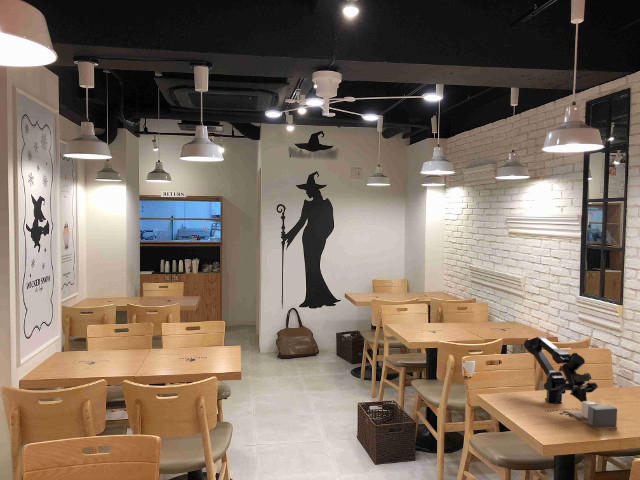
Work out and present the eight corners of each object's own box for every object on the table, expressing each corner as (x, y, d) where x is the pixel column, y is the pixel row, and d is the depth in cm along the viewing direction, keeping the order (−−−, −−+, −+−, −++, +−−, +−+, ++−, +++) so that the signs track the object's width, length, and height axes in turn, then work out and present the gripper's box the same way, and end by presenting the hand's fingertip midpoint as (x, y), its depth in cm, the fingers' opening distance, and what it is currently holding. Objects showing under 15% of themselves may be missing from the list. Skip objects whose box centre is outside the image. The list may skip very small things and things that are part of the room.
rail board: (567, 413, 250) (567, 411, 250) (584, 412, 253) (584, 410, 253) (598, 430, 230) (598, 428, 230) (617, 429, 233) (617, 426, 233)
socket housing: (587, 422, 236) (588, 405, 236) (608, 421, 238) (608, 404, 238) (595, 427, 231) (596, 409, 231) (616, 425, 234) (617, 408, 233)
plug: (581, 415, 244) (582, 401, 244) (590, 415, 245) (591, 400, 245) (591, 420, 238) (591, 405, 238) (600, 420, 239) (601, 405, 239)
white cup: (475, 375, 312) (476, 359, 311) (473, 378, 305) (474, 362, 304) (462, 373, 315) (463, 357, 315) (460, 376, 308) (460, 360, 308)
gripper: (562, 367, 248) (577, 397, 237) (596, 366, 252) (612, 395, 241) (551, 378, 256) (565, 408, 245) (583, 377, 260) (599, 406, 249)
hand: (585, 404), depth 245 cm, fingers closed, pressing on plug
